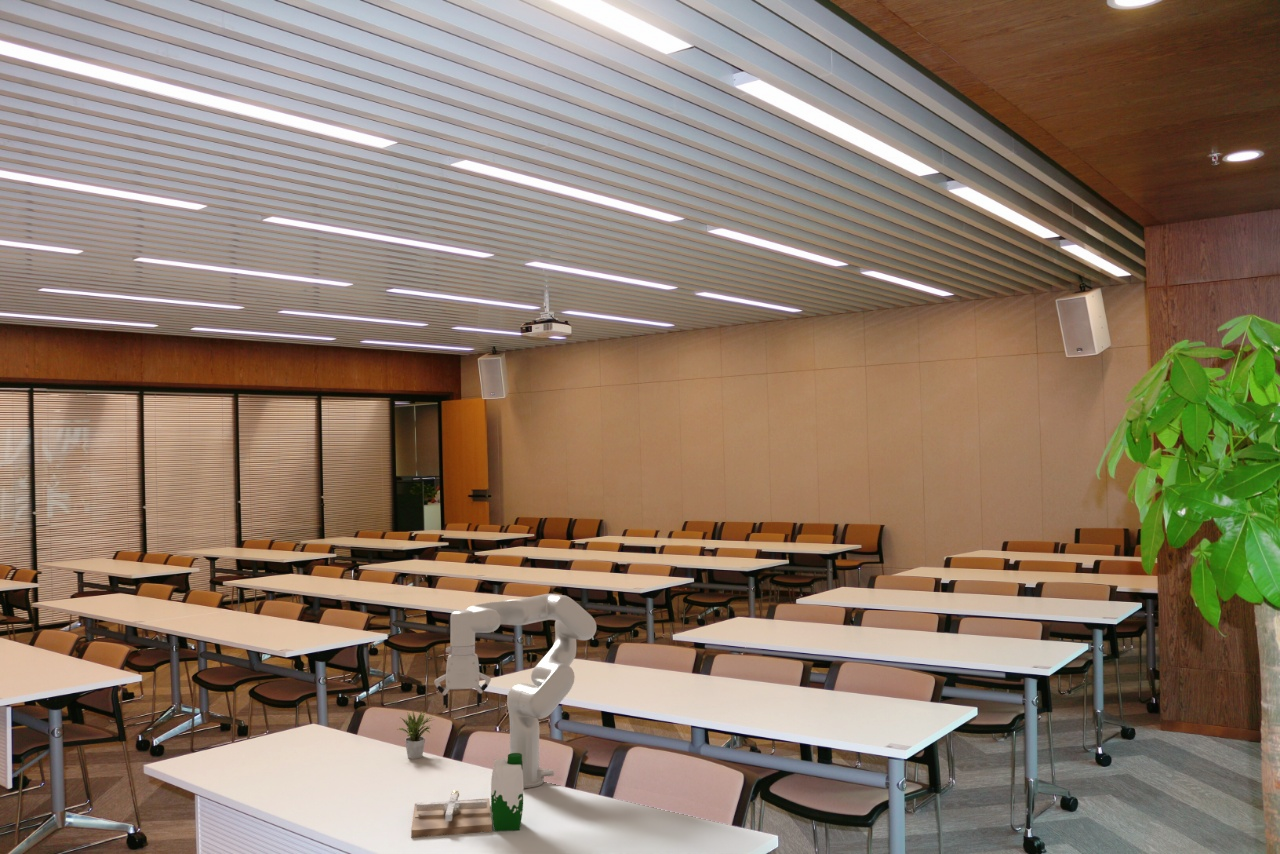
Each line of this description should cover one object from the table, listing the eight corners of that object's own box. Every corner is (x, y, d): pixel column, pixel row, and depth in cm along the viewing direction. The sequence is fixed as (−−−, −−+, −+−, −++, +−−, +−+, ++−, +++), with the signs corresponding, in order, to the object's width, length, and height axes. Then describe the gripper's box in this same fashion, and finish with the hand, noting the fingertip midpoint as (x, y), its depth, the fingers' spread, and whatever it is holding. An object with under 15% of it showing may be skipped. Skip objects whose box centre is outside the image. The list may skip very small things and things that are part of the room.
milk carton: (522, 831, 267) (522, 759, 268) (490, 833, 267) (490, 760, 268) (523, 820, 276) (523, 750, 277) (492, 821, 275) (492, 751, 276)
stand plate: (489, 805, 289) (489, 797, 289) (491, 831, 268) (491, 823, 268) (414, 810, 285) (414, 802, 285) (411, 837, 263) (411, 829, 263)
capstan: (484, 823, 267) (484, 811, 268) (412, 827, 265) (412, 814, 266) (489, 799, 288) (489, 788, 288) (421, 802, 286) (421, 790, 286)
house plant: (430, 763, 331) (430, 716, 332) (390, 763, 331) (391, 716, 332) (439, 751, 346) (439, 706, 346) (401, 751, 346) (401, 706, 347)
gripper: (434, 654, 291) (433, 710, 291) (491, 651, 295) (491, 707, 294) (434, 649, 299) (434, 705, 298) (490, 647, 302) (490, 702, 301)
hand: (462, 706), depth 296 cm, fingers open, 9 cm apart
